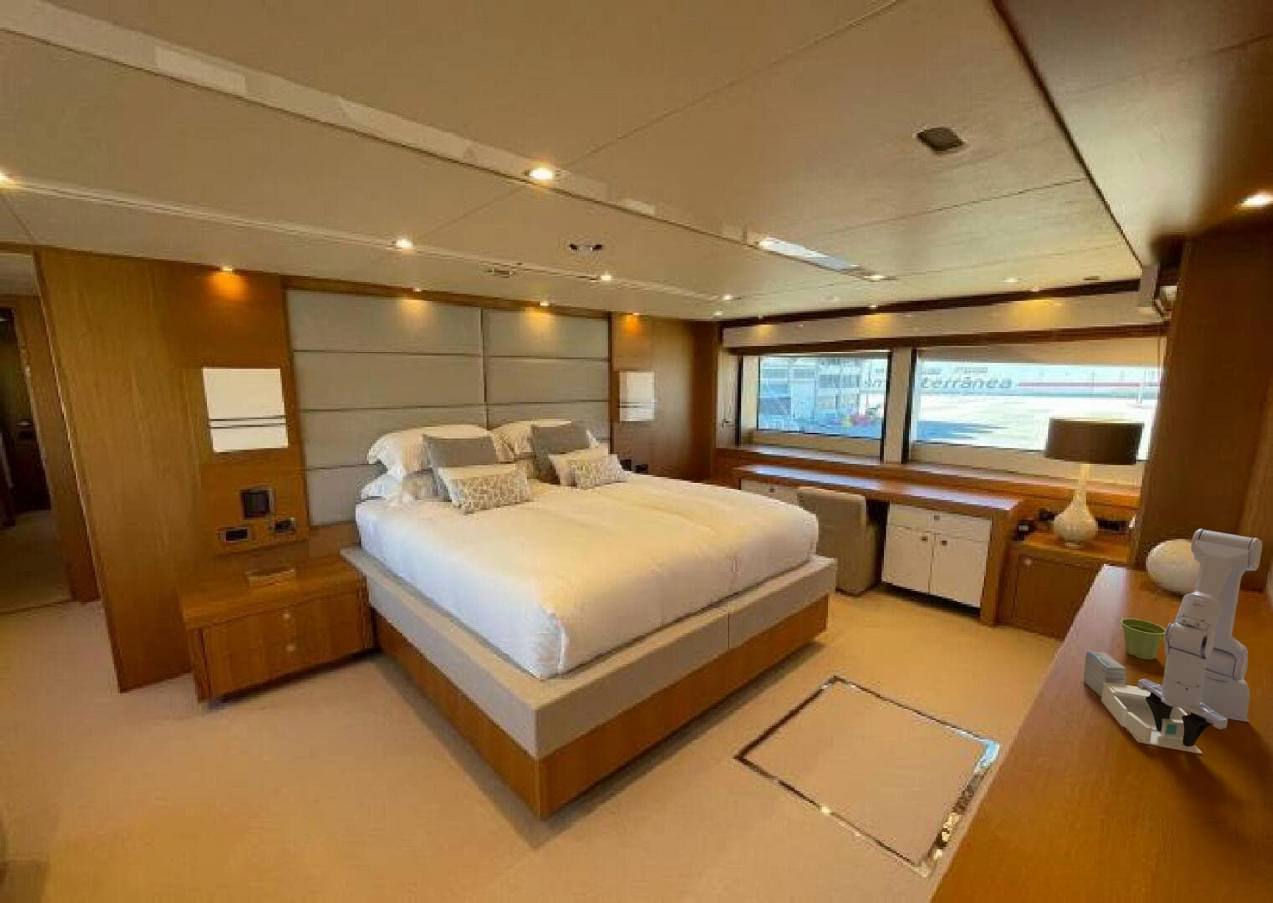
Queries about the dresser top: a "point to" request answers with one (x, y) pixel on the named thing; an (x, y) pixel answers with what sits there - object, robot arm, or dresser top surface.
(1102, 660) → the medicine box
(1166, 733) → the carton flap
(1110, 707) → the carton
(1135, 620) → the plant pot
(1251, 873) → the dresser top surface
